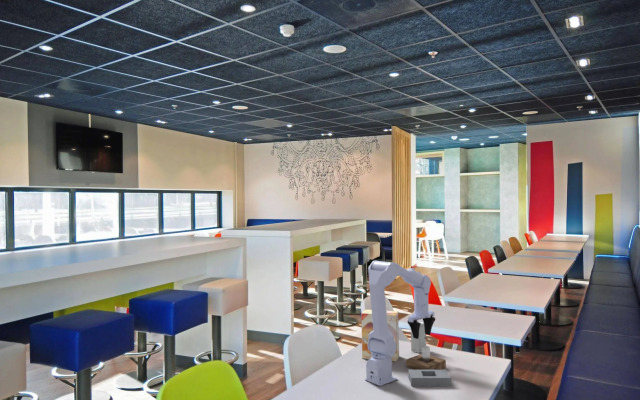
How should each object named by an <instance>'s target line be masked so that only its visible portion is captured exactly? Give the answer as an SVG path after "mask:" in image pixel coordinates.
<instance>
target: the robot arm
mask: <svg viewBox="0 0 640 400" xmlns="http://www.w3.org/2000/svg"><path fill="white" fill-rule="evenodd" d="M367 269H368V270H367V272H368V282H369V283H368V285H369V286H368V287H369V297H370V307H371V309H370V310H372V319H373V331H372V332H370V333H369V335H368V350H369V351H370V352H371V355H372V357H371V359H367V360H366V362H365V363H366V365H365V366H366V367H365V368H366V370H365V371H366V378H364V380H365V381H367V382H369V383H372V384H374V385H377V386H384V385H387V384H389V383H392V382H393V381H397V380H398V378H397V377H396V376H393V361H392V357H393V355H394V354H395V352H396V343H395V341H394V336H393V335H392V333H391V332H390V331H389V330H388V323H387V313H386V311H387V306H386V305H387V304H386V295H385V289H386V288H387V287H388V286H390V284H392V282H393V281H395V279H396V278H397V276H398V277H401V278H402V280H403V282H404V283H406V284H409V285H411V288H413V306H414V307H413V308H414V310H413V314H411V315H410V316H407V319H408V320H407V324H408V326H409V328H410V331H411V330H412V334H413V338H416V339H418V338H419V329H420V325H421V323H419V322H420V321H419V320H422V322H424V329H425V334H426V336H431V334H432V328H433V325H434V323H435V321H436V317H435V311H433V310H429V293H430V288H431V284H432V281H431V278H430V277H429V276H428V275H426V274H422V272H421V271H416V269H415V268H414V267H411V268H404V267H403V266H401V265H400V264H399V263H396V262H395V261H394V262H393V261H391V262H389V261H381V260H380V261H379V260H377V259H376V260H373V261H372V262H371V263H370V265H368V268H367ZM418 321H419V322H418Z"/></svg>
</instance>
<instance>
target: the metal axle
mask: <svg viewBox="0 0 640 400" xmlns="http://www.w3.org/2000/svg"><path fill="white" fill-rule="evenodd" d="M421 354H422V362H425V363H429V362H430V355H431V348H430V346H428V345H426V346H422V352H421Z"/></svg>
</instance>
